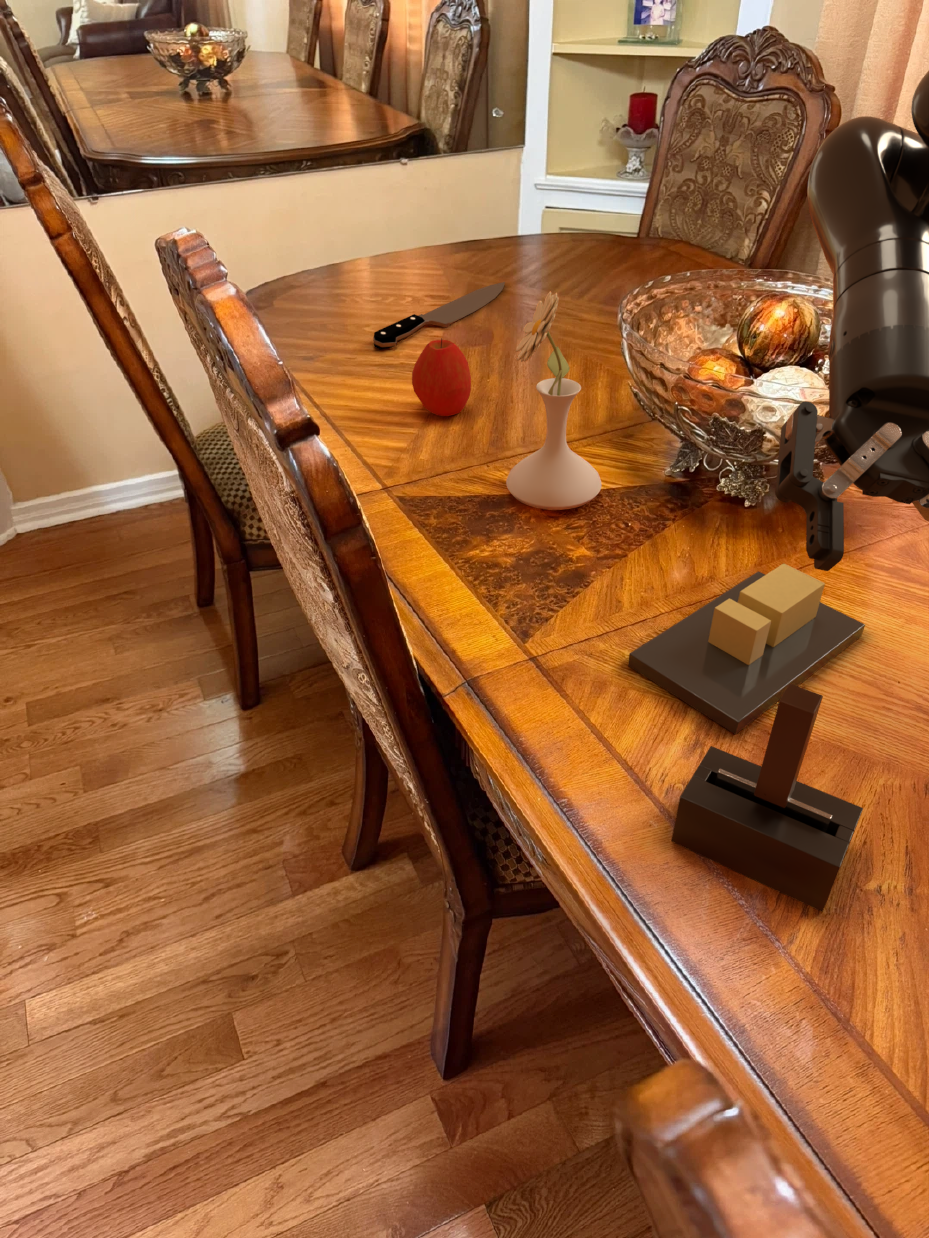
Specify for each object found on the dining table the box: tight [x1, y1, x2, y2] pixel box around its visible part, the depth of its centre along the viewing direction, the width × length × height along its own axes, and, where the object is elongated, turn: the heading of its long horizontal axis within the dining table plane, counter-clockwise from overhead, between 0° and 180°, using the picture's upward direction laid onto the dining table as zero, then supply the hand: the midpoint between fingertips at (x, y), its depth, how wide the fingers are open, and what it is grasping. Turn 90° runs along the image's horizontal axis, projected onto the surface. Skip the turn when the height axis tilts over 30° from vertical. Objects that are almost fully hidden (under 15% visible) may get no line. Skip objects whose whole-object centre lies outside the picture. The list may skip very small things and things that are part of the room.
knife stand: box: [670, 745, 864, 913], centre depth 64 cm, size 6×11×5 cm, turn 56°
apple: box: [411, 338, 472, 417], centre depth 124 cm, size 8×8×11 cm
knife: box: [715, 684, 832, 833], centre depth 61 cm, size 2×8×15 cm, turn 57°
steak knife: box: [372, 281, 506, 350], centre depth 158 cm, size 5×41×2 cm, turn 147°
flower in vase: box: [505, 290, 603, 511], centre depth 99 cm, size 13×11×25 cm
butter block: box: [738, 562, 826, 647], centre depth 84 cm, size 7×4×4 cm, turn 131°
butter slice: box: [708, 599, 771, 665], centre depth 81 cm, size 2×4×4 cm, turn 40°
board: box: [627, 571, 866, 735], centre depth 83 cm, size 20×12×2 cm, turn 130°
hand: (898, 579), depth 52 cm, fingers open, 8 cm apart
